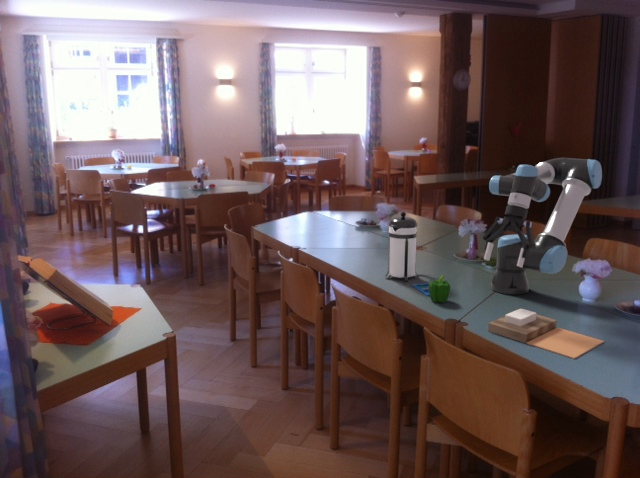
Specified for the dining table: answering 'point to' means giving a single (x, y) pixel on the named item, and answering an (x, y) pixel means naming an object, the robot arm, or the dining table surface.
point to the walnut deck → (523, 328)
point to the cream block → (520, 317)
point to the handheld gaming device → (423, 288)
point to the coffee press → (402, 247)
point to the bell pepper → (439, 290)
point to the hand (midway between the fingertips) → (502, 263)
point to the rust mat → (565, 342)
